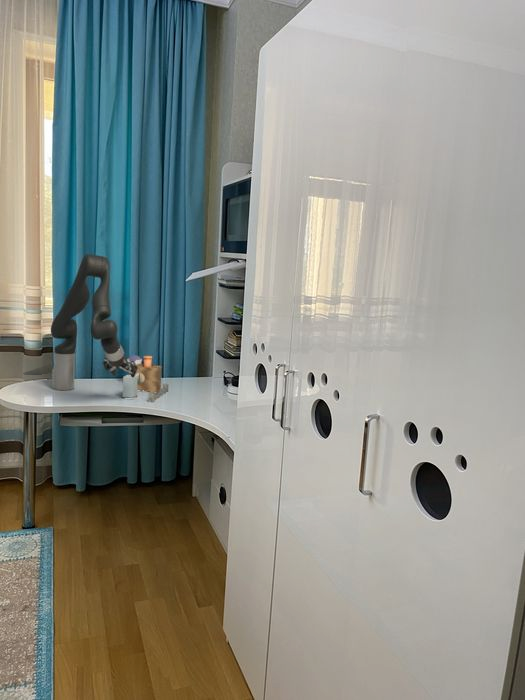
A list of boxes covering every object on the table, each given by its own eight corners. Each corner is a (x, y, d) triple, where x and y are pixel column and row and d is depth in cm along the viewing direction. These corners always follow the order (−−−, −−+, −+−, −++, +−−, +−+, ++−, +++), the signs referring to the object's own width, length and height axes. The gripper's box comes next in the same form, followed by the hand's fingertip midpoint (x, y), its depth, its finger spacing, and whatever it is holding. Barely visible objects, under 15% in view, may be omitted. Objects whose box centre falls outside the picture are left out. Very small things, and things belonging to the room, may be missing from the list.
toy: (147, 383, 305) (148, 354, 303) (140, 387, 295) (141, 357, 293) (127, 381, 307) (128, 352, 304) (120, 385, 297) (121, 355, 295)
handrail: (148, 401, 269) (148, 393, 268) (163, 391, 291) (163, 383, 290) (153, 402, 269) (153, 393, 268) (168, 392, 290) (168, 384, 290)
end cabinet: (131, 390, 288) (132, 366, 286) (137, 387, 295) (138, 363, 293) (155, 393, 286) (156, 368, 284) (160, 389, 293) (161, 366, 291)
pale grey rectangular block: (121, 398, 272) (122, 376, 271) (126, 395, 277) (127, 374, 276) (133, 399, 271) (133, 378, 270) (137, 396, 277) (138, 375, 275)
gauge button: (141, 373, 288) (142, 356, 286) (144, 372, 292) (145, 355, 290) (149, 374, 287) (150, 357, 286) (152, 372, 291) (153, 356, 290)
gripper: (133, 348, 253) (141, 369, 266) (101, 345, 255) (111, 366, 268) (128, 362, 249) (137, 383, 262) (96, 359, 251) (106, 380, 264)
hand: (124, 375), depth 265 cm, fingers open, 8 cm apart
